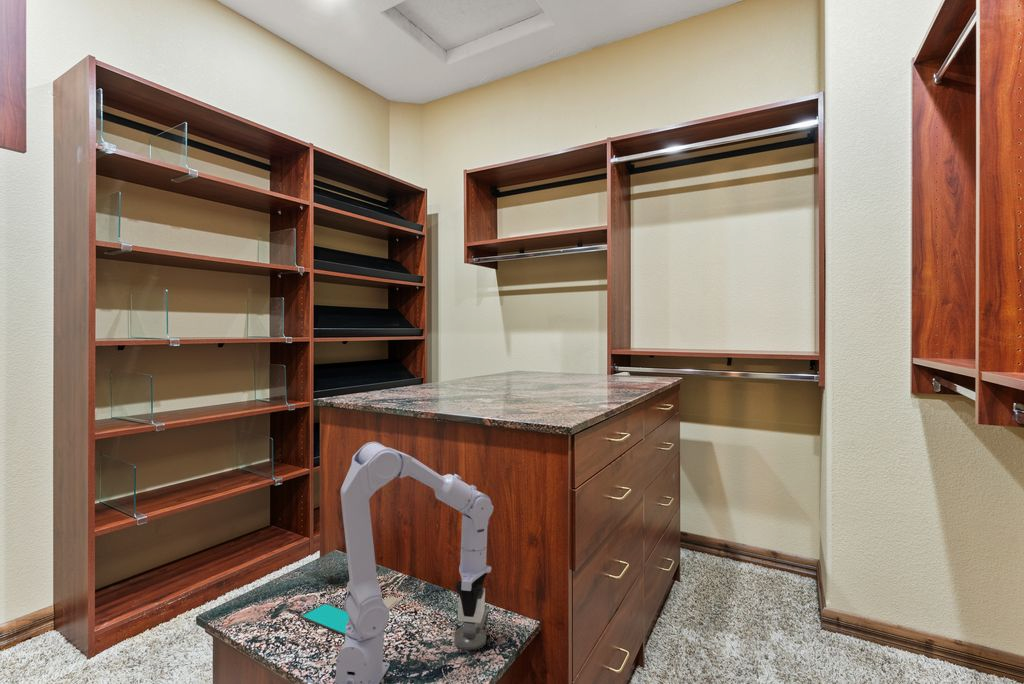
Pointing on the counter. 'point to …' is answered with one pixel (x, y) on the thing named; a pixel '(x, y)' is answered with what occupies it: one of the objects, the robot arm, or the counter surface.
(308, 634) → the counter surface
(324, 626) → the smartphone
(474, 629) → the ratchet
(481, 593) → the brushed metal cube
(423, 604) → the counter surface
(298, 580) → the counter surface
